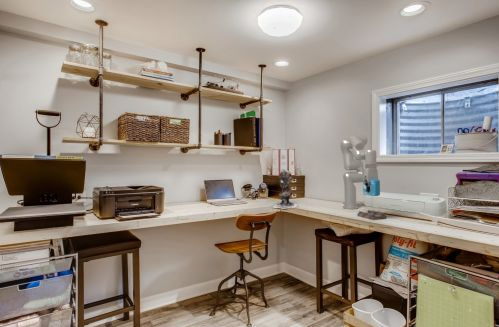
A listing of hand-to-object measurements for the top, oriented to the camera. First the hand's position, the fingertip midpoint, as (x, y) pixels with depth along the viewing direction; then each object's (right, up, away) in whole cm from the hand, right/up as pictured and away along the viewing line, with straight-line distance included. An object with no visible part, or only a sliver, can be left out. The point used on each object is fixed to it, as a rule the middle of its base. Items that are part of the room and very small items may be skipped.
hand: (371, 191), depth 212 cm
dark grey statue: (-58, -20, +53) cm, 81 cm away
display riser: (0, -19, 0) cm, 19 cm away
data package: (0, -3, 0) cm, 3 cm away
